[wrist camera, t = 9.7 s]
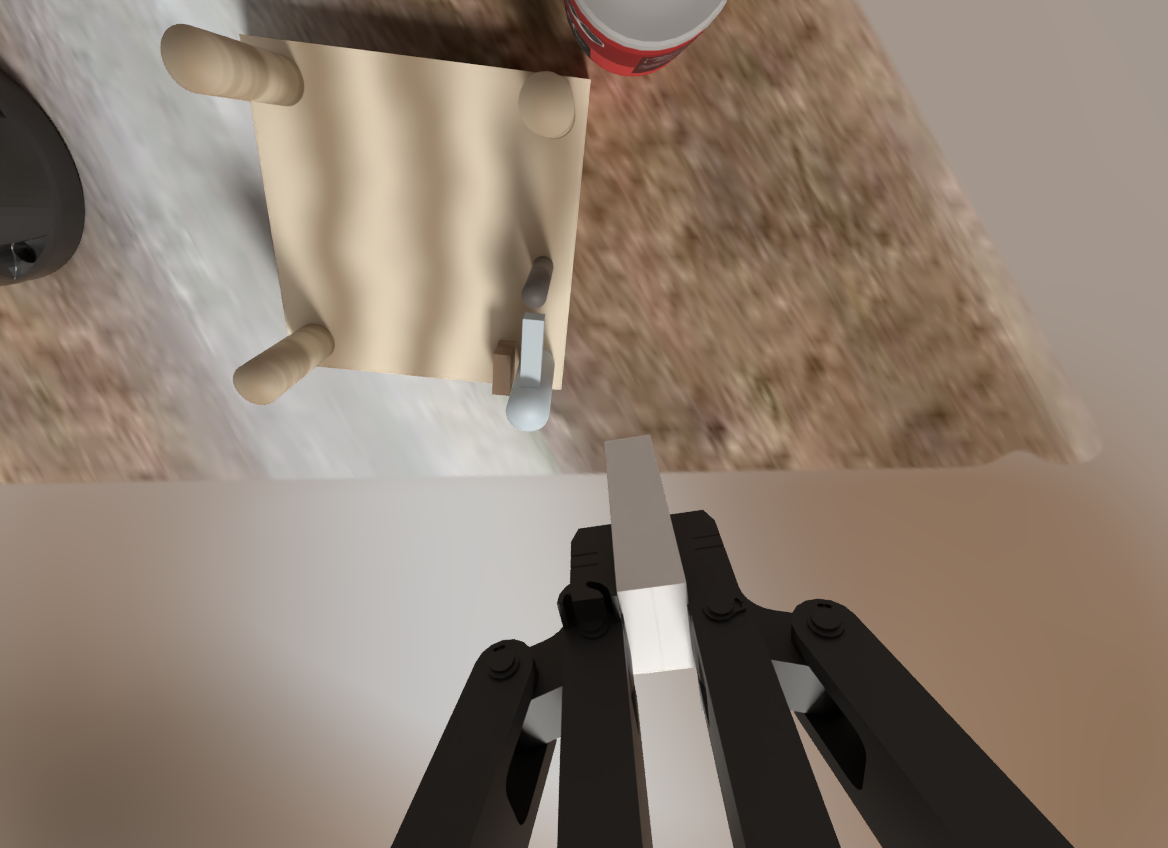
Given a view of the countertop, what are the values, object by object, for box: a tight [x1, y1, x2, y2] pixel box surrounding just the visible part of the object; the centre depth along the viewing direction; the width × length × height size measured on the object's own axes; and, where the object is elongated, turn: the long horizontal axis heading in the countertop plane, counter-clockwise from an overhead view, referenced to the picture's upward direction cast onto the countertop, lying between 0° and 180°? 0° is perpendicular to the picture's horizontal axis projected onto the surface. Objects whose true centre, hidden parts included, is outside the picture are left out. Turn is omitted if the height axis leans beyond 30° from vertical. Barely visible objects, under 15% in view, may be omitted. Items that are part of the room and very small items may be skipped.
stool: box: [161, 24, 591, 405], centre depth 32 cm, size 20×20×10 cm
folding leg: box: [506, 312, 555, 431], centre depth 34 cm, size 3×7×8 cm, turn 174°
